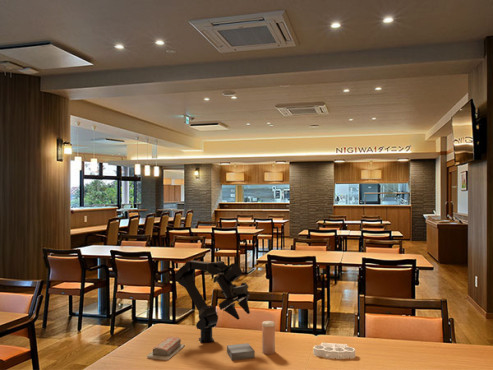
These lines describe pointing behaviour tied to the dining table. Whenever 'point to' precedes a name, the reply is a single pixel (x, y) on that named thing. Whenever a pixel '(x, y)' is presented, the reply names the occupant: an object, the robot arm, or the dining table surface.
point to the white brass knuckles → (334, 351)
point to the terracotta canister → (268, 337)
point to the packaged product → (166, 349)
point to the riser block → (240, 351)
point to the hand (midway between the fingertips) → (244, 316)
